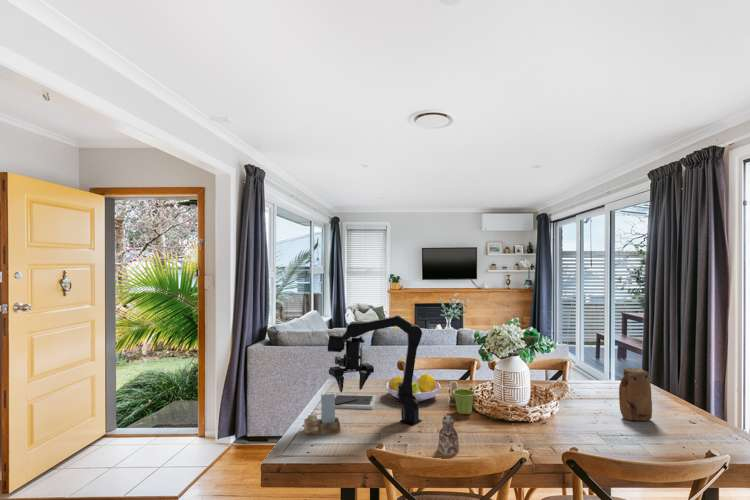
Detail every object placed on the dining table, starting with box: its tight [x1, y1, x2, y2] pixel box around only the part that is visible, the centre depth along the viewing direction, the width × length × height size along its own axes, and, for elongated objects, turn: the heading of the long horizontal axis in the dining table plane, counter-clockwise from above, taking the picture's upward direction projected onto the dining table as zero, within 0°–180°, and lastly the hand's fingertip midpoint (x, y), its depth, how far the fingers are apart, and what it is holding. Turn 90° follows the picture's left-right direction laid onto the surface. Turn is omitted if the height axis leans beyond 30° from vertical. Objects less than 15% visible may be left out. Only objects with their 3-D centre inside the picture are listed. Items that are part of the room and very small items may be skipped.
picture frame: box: [334, 393, 378, 410], centre depth 193 cm, size 16×3×21 cm
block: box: [618, 367, 653, 422], centre depth 169 cm, size 11×8×20 cm
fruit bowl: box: [386, 373, 442, 403], centre depth 199 cm, size 28×27×11 cm
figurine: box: [437, 412, 460, 456], centre depth 142 cm, size 7×7×12 cm
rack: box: [303, 416, 341, 437], centre depth 160 cm, size 13×6×4 cm, turn 103°
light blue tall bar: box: [320, 393, 336, 424], centre depth 161 cm, size 5×3×14 cm, turn 103°
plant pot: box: [452, 388, 476, 415], centre depth 179 cm, size 9×9×9 cm
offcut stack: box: [303, 414, 318, 433], centre depth 160 cm, size 5×6×5 cm
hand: (350, 390), depth 169 cm, fingers open, 9 cm apart
